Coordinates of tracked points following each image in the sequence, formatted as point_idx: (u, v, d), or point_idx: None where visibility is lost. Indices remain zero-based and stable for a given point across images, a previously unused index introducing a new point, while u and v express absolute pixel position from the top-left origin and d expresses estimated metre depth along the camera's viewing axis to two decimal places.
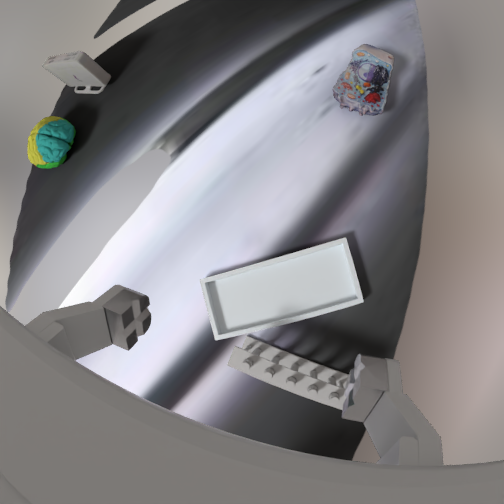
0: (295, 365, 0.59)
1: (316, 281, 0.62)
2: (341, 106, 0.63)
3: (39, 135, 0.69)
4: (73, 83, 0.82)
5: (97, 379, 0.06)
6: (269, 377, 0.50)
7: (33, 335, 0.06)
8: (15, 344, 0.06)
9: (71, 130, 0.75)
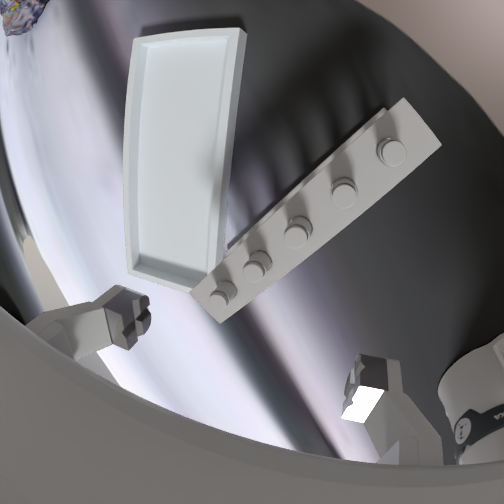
0: None
1: (182, 99, 0.31)
2: (29, 27, 0.30)
3: None
4: None
5: (97, 379, 0.06)
6: (257, 272, 0.22)
7: (33, 335, 0.06)
8: (15, 344, 0.06)
9: None
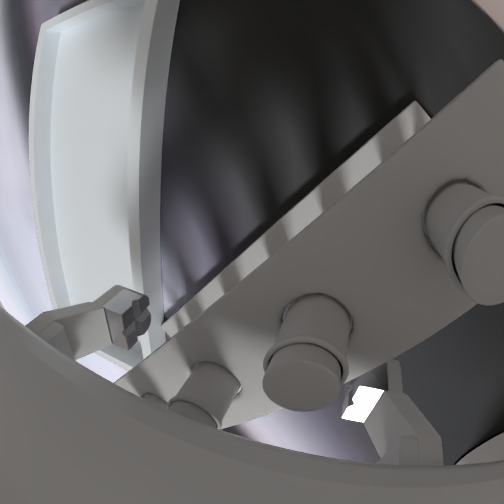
0: None
1: (92, 99, 0.18)
2: None
3: None
4: None
5: (97, 379, 0.06)
6: None
7: (33, 335, 0.06)
8: (15, 344, 0.06)
9: None
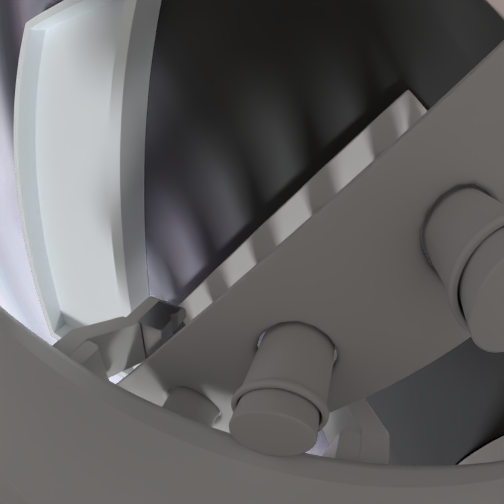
0: None
1: (75, 97, 0.17)
2: None
3: None
4: None
5: (97, 379, 0.06)
6: None
7: (33, 335, 0.06)
8: (15, 344, 0.06)
9: None
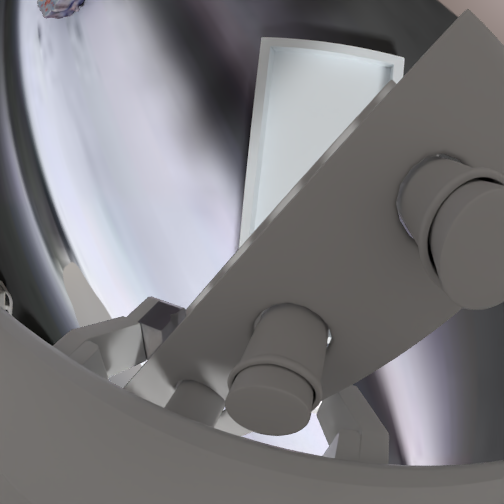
0: None
1: (325, 124, 0.27)
2: (75, 9, 0.27)
3: None
4: None
5: (97, 379, 0.06)
6: None
7: (33, 335, 0.06)
8: (15, 344, 0.06)
9: None
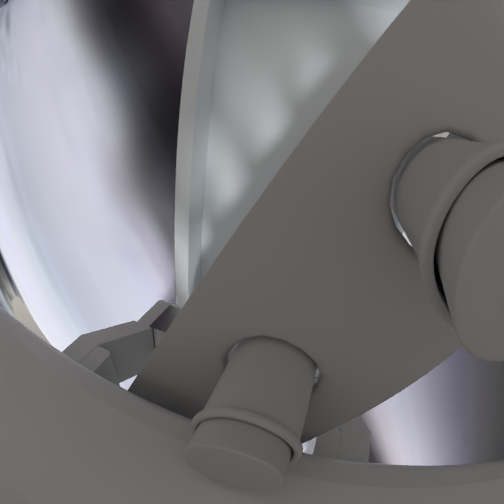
0: None
1: (312, 114, 0.15)
2: None
3: None
4: None
5: (97, 379, 0.06)
6: None
7: (33, 335, 0.06)
8: (15, 344, 0.06)
9: None
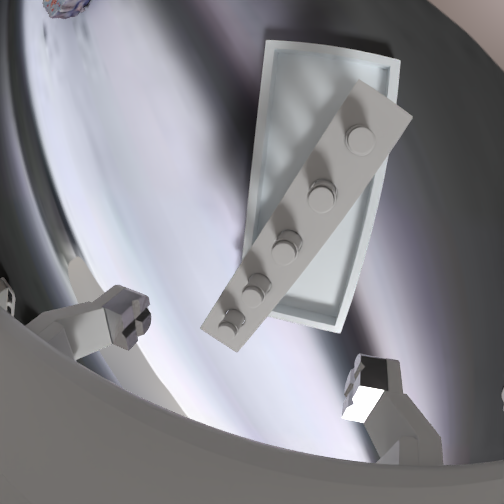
0: None
1: (326, 122, 0.29)
2: (81, 10, 0.28)
3: None
4: None
5: (97, 379, 0.06)
6: (255, 296, 0.21)
7: (33, 335, 0.06)
8: (15, 344, 0.06)
9: None
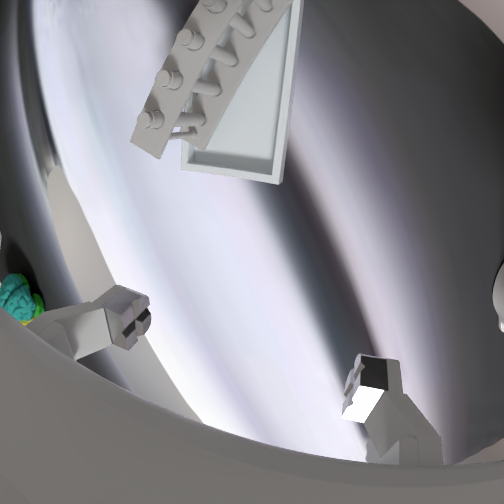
0: None
1: None
2: None
3: None
4: None
5: (97, 379, 0.06)
6: (164, 74, 0.22)
7: (33, 335, 0.06)
8: (15, 344, 0.06)
9: (11, 276, 0.62)
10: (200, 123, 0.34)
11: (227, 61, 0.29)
